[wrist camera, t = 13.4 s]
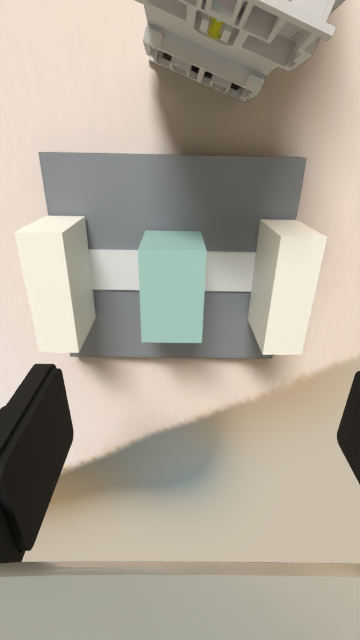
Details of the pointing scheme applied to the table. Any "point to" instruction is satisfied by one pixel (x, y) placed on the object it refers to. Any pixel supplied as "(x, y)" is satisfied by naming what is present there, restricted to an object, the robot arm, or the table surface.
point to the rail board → (170, 215)
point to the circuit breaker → (235, 38)
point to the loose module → (172, 286)
